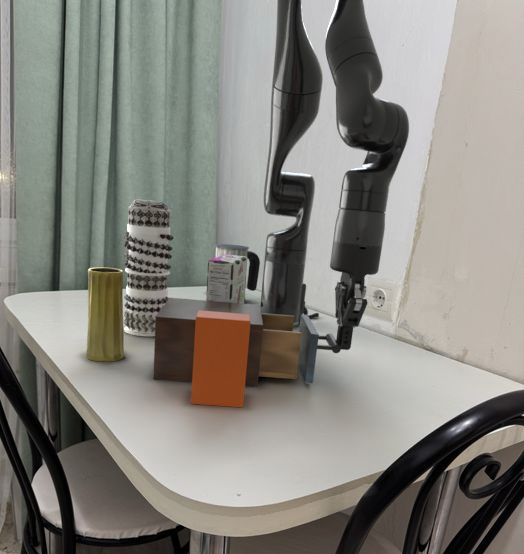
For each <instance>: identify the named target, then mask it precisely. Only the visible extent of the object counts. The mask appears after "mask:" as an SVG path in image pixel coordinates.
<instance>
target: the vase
mask: <svg viewBox="0 0 524 554" xmlns="http://www.w3.org/2000/svg"><path fill="white" fill-rule="evenodd" d="M87 274H88V278H87V279H88V283H87V301H88V302H87V337H86V339H87V340H86V342H87V343H86V352H85V357H86V358H87V359H88V360H90V361H94V362H100V363H101V362H102V363H109V362H116V361H120V360H122V359H124V358H125V357H126V356H125V355H126V354H125V346H124V345H125V335H124V333H125V331H124V300H123V299H124V298H123V296H124V295H123V292H124V291H123V290H124V289H123V287H124V286H123V285H124V271H123V270H122V269H121V268H115V267H90V268H88V270H87Z"/></svg>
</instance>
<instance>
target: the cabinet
mask: <svg viewBox="0 0 524 554" xmlns="http://www.w3.org/2000/svg"><path fill="white" fill-rule="evenodd" d="M168 298H169V299H168V300H167V302H166V303H165V305H164V306H163V307H162V309H161V310H160V311H159V313H158V314H157V315H156V317H155V321H156V322H155V336H154V349H153V351H154V353H153V380H162V381H163V380H164V381H176V382H188V383H192V376H193V359H194V341H195V324H196V316H197V313H198V311H199V310H201V311H214V312H226V313H238V314H250V320H251V323H250V334H249V346H248V357H247V368H246V380H245V387H258V386H259V378H260V376H259V366H260V356H261V345H262V335H263V320H262V314H261V308H260V304H253V303H252V304H250V303H244V304H241V303H228V302H216V301H206V300H203V299H202V300H201V299H191V298H189V299H188V298H179V297H168Z"/></svg>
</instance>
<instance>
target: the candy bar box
mask: <svg viewBox="0 0 524 554" xmlns="http://www.w3.org/2000/svg"><path fill="white" fill-rule="evenodd" d="M247 265H248V259H247V257H245V256H238V255H222V256H219V257H217V258H215V257H214V258H211V259H208V260H207V278H206V299H205V301H216V302H228V303H241V304H245V302H244V298H245V299H246V285H247V283H246V282H247V270H248V269H247V268H248V266H247ZM245 284H246V285H245Z"/></svg>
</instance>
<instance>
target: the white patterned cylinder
mask: <svg viewBox="0 0 524 554" xmlns="http://www.w3.org/2000/svg"><path fill="white" fill-rule="evenodd" d="M127 208H128V223H127V224H126V225H127V226H126V227H127V231H126V232H125V233H124V234H123V238H124V240H125V241H124V243H123V246H124V247H125V249H127V251H126V252H124V258H125V259H126V260H125V261H124V266H125V268H124V270H125V272H126V273H127V285H126V287H125V288H126V289H125V291H126V292H125V293H126V294H125V296H124V298H123V299H124V300H125V301H126V302H125V303H124V304H123V307H125V309H126V310H125V311H124V312H123V317H124V318H125V319H123V325H124V326H125V327H123V331H124V333H127V334H128V335H132V336H137V337H155V322H156V321H155V317H156V315H157V314H158V313H159V311H160V310H161V309H162V307H163V306H164V305H165V303H166V302H167V300H168V299H169V298H170V297H169V296H168V295H169V288H168V276H169V275H170V274H171V271H170V269H171V268H172V266H171V265H170V264H169V263H168V261H169V260H171V259H172V257H173V256H172V254H170V252H171V251H173V246H171V244H169V242H171V241H172V240H174V236H173V235H172V234H171V227H170V218H171V210H170V209H169V207H168V204H167V203H165V202H164V201H160V200H149V199H134V200H133V201H132V203H131V204H130V206H127Z"/></svg>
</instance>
